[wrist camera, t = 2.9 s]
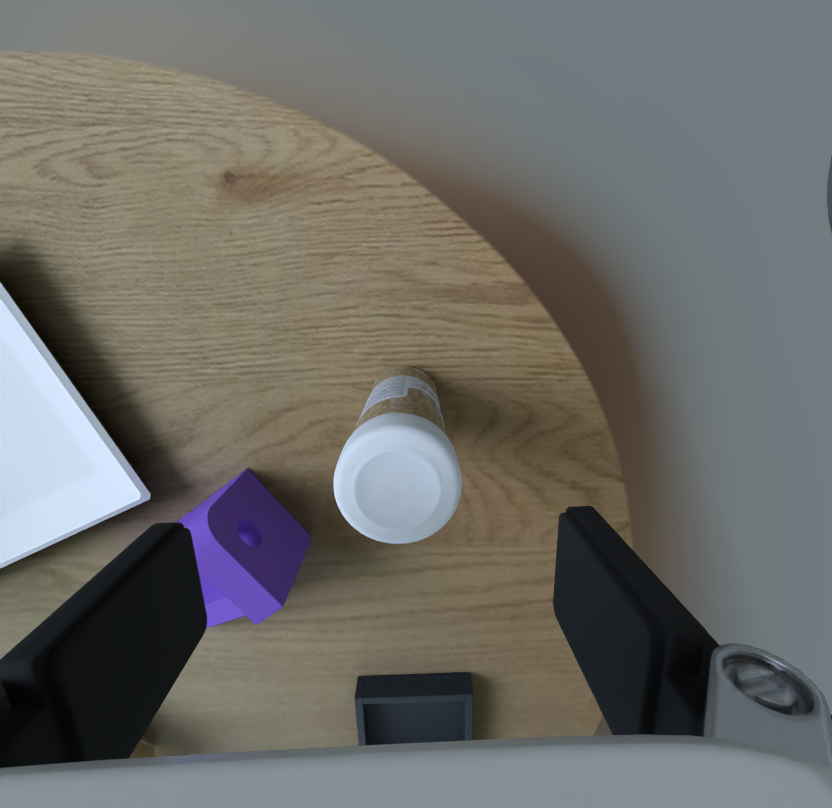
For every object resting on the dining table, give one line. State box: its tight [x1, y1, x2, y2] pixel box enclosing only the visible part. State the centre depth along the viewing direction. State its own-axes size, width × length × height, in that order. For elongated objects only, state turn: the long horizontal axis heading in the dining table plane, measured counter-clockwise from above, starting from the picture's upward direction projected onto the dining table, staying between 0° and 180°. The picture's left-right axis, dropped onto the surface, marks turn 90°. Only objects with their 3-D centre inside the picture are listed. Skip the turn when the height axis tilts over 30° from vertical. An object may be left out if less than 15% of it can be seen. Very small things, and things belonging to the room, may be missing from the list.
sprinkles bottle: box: [333, 366, 462, 544], centre depth 20 cm, size 5×5×14 cm
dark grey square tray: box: [355, 673, 473, 746], centre depth 33 cm, size 9×9×2 cm
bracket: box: [176, 468, 312, 628], centre depth 26 cm, size 12×7×7 cm, turn 127°
